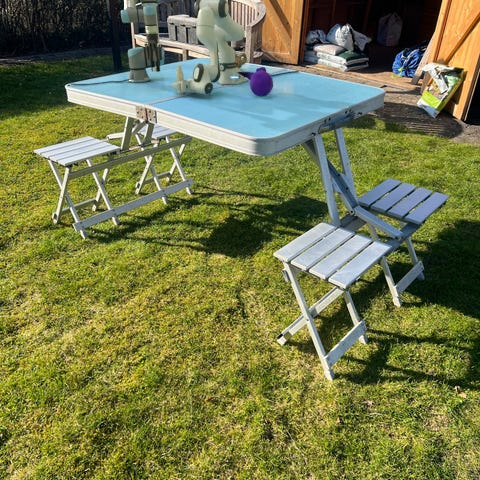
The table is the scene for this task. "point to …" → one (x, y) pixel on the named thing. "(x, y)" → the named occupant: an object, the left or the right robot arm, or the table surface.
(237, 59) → the teapot
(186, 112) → the table surface
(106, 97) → the table surface
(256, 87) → the toy
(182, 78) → the bottle
